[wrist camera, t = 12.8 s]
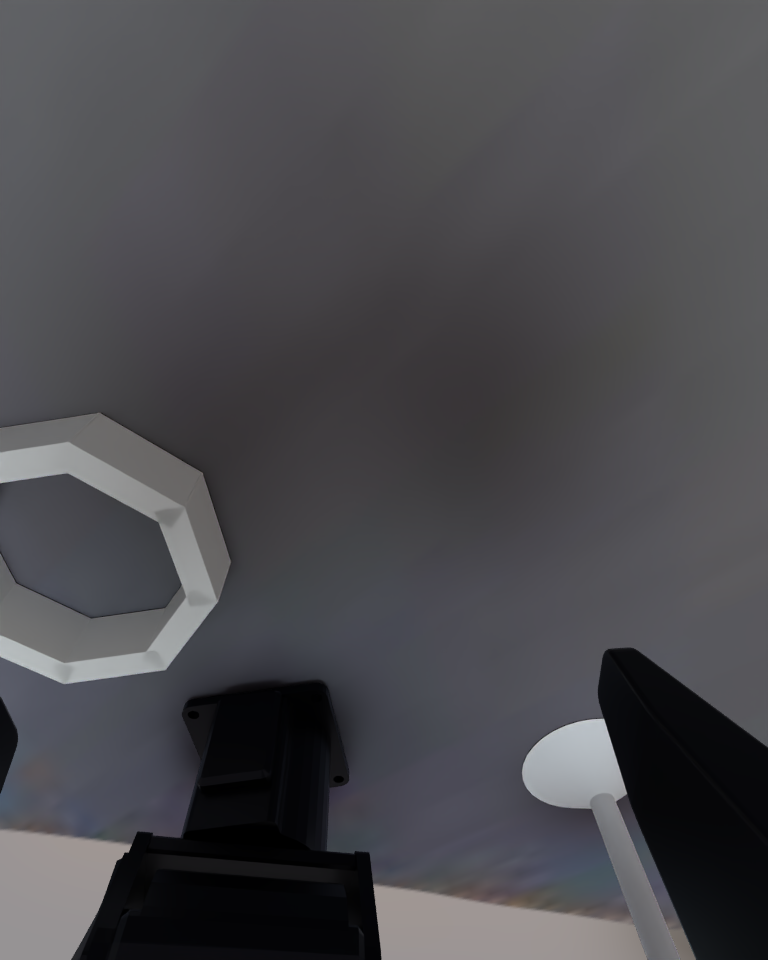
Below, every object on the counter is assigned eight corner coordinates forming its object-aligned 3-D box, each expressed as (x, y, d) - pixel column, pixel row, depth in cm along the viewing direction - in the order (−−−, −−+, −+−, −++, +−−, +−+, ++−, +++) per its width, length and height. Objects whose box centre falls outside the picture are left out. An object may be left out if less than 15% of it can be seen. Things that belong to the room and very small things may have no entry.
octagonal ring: (249, 616, 25) (238, 660, 22) (25, 648, 25) (-8, 694, 23) (180, 399, 20) (157, 427, 18) (-91, 441, 21) (-146, 473, 18)
